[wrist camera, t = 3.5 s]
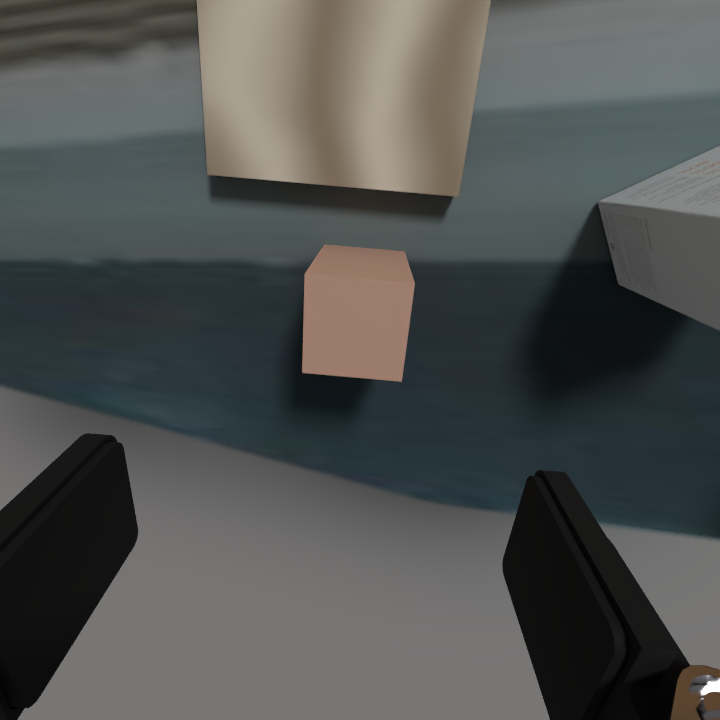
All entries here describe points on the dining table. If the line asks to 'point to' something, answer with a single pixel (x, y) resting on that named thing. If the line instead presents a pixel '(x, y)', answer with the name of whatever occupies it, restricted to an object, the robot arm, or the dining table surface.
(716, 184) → the small box
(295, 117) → the board
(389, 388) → the dining table surface
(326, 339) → the block
